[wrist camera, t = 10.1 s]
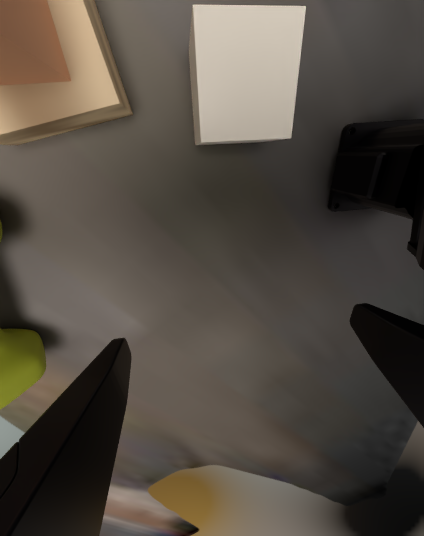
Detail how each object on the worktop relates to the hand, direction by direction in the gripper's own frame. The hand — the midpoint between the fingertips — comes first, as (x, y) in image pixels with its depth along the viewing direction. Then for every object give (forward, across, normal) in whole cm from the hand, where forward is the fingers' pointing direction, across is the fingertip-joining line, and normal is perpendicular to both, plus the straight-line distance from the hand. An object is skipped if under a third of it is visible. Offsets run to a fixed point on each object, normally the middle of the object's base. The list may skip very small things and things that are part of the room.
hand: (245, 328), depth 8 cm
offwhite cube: (+12, -2, -9) cm, 15 cm away
